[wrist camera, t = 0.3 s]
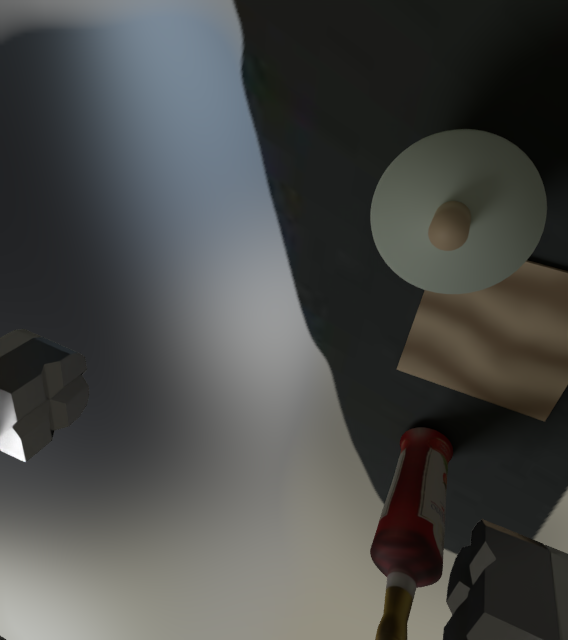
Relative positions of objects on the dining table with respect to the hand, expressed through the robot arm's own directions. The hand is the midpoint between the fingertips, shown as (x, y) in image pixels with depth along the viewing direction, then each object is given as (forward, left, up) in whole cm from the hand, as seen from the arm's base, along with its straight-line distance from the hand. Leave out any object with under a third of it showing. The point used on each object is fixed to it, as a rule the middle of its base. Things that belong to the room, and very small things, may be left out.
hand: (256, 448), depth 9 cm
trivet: (+19, +12, -45) cm, 50 cm away
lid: (+5, +3, -36) cm, 36 cm away
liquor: (+38, +10, -45) cm, 60 cm away
